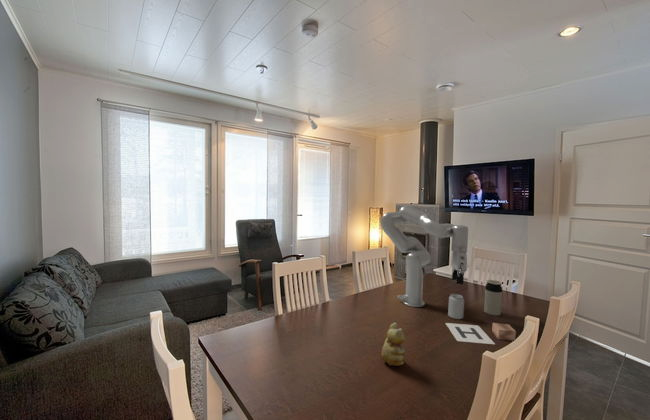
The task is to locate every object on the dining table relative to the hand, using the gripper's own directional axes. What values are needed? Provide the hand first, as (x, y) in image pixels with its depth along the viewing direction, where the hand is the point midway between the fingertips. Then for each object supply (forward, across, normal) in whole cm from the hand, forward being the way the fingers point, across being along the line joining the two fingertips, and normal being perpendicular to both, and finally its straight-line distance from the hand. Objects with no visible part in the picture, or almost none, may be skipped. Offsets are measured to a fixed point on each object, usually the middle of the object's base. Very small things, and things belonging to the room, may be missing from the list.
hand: (457, 281), depth 150 cm
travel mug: (+20, +10, -23) cm, 32 cm away
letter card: (+20, -18, 0) cm, 27 cm away
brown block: (+20, -18, -15) cm, 31 cm away
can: (+20, 0, 0) cm, 20 cm away
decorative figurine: (+20, -48, +39) cm, 65 cm away
